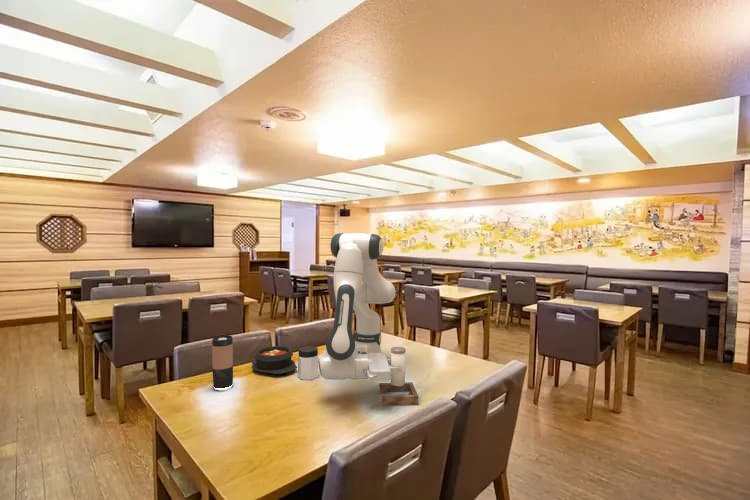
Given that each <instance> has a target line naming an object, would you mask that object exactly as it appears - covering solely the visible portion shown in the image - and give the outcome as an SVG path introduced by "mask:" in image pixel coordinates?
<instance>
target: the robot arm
mask: <svg viewBox="0 0 750 500" xmlns="http://www.w3.org/2000/svg"><path fill="white" fill-rule="evenodd" d="M329 248H330V253H331V255H332V256H333V257H334V258H335V259H336V260H335V263H334V270H333V291H334V292H333V293H334V296H335V310H334V311H335V312H334V320H333V322H334V323H333V326H332V330H331V332H330V333H329V336H328V337H327V338H326V341H325V347H324V350H323V352H322V354H321V355H320V357H319V373H320V374H319V375H320V376H321V377H322V379H325V380H331V381H332V380H334V381H344V380H348V379H351V380H368V379H369V380H371V381H376V382H377V381H378V382H389V381H391V374H394V373H397V372H402V367H401V366H397V367H391V358H387V356H386V354H385V353H383V352H382V347H381V346H382V345H381V344H382V332H381V317H380V314H378V313H377V312H376V310H373V309H371V308H370V306H369V304H370V305H371V304H374V305H376V304H377V305H385V304H390V303H392V302H393V300H394V299H395V298H396V293H397V292H396V288H395V286H394V284H393V283H392V282H391V281H389V280H387V279H386V278H385V277H384V276H383V275H382V274H381V272H380V271H379V270H380V269H379V266H378V259H379V258H381V256H382V254H383V252H384V243H383V238H382V237H381V236H380V235H379V234H375V233H366V232H363V233H362V232H350V233H348V232H347V233H343V232H340V233H336V234H334V235H333V236H332V237H331V240H330V247H329ZM368 306H369V307H368ZM353 313H355V318H356V330H355V331H354V332H353V327H352V326H353V325H352V324H353V315H354V314H353Z"/></svg>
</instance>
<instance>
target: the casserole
mask: <svg viewBox="0 0 750 500" xmlns="http://www.w3.org/2000/svg"><path fill="white" fill-rule="evenodd" d="M293 356H294V353H293V351H292V349H291V348H290V347H288V346H283V345H282V346H281V345H280V346H279V345H278V346H276V345H275V346H274V345H273V346H267V347H262V348H260V349H258V350H257V351H256V354H255V355H254V359H253V360H252V361H251V364H252V369H253V370H254V371H256V372H260V373H266V374H272V375H281V374H286V373H290V372H293V371H295V370H296V369H297V370H298V365H296V362H295V360H293V359H292V357H293Z"/></svg>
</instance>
